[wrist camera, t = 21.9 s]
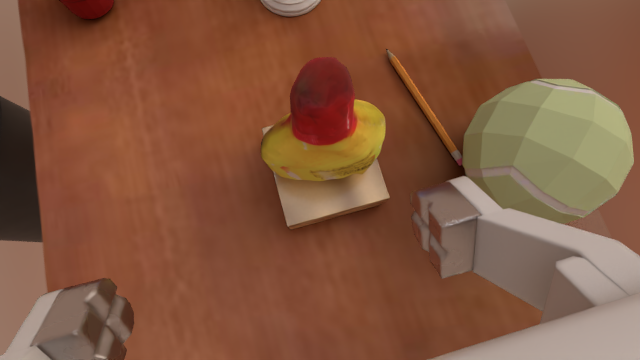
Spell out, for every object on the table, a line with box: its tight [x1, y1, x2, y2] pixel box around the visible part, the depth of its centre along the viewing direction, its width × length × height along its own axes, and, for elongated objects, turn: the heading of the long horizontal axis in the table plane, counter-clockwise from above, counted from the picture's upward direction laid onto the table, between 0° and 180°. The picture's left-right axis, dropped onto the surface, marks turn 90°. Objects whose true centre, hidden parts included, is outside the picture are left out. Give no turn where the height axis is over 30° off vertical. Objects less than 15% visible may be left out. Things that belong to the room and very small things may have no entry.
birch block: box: [262, 125, 390, 230], centre depth 43 cm, size 12×12×5 cm
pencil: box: [386, 49, 463, 166], centre depth 47 cm, size 1×1×19 cm
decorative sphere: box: [462, 79, 634, 223], centre depth 38 cm, size 15×15×15 cm
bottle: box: [261, 57, 385, 181], centre depth 31 cm, size 12×6×20 cm, turn 99°
